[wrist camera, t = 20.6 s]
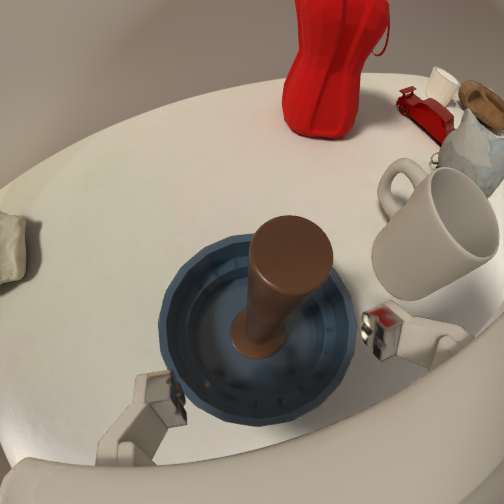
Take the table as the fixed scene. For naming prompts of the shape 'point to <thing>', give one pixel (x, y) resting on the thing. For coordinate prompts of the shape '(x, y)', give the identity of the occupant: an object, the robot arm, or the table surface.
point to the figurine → (474, 154)
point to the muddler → (279, 282)
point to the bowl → (483, 103)
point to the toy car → (427, 114)
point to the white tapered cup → (441, 86)
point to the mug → (432, 231)
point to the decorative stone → (12, 247)
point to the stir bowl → (235, 364)
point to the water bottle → (331, 63)
